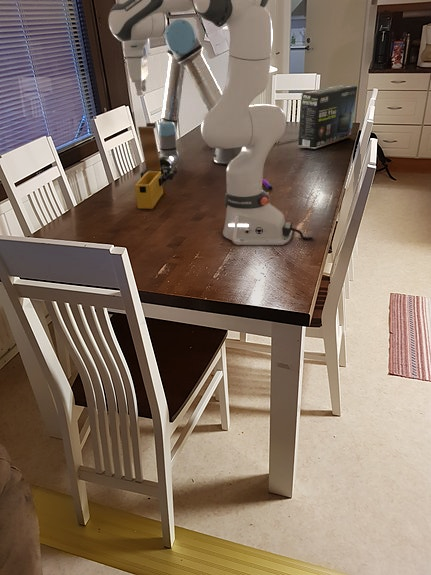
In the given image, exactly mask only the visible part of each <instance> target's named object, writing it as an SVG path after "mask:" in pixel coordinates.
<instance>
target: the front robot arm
mask: <svg viewBox="0 0 431 575" xmlns="http://www.w3.org/2000/svg"><path fill="white" fill-rule="evenodd" d="M268 3H269V0H119V2H118V3H115V4H114V5H112V7H111V8H110V10H109V14H108V17H107V24H108V28H109V30H110V32H111V34H112V35H113V36H114V37H115V38H116V39H117V40H118V41H119V42H122V46H123V47H122V48H123V56H124V58H126V59H125V61H126V66H127V71H128V76H129V80H130V82H131V83H133V84H134V88H135V90H136V95H137V96H138V97H139V96H143V92H146V91H147V77H148V76H149V65H148V56H149V55H151V45H150V39H157V38H160V37H162V36H163V35H164V33H166V29H167V16H166V13H180V12H181V13H182V12H188V11H192V10H195V12H196V14H197V15H198V16H199V17H200V18H202V19H204V20H206V21H207V22H210V23H212V24H213V25H214V26H215V27H217V28H221V27H223V26H224V25H225V26H226V27H227V28H228V31H229V46H228V64H227V73H226V82H225V85H224V88H223V91H222V96H221V98H220V99H219V101H218V102H217V104H216V105H215V106H214V108H213V109H212V110H211V111H209V112H208V111H207V113H206V114H205V115H204V117H203V119H202V121H201V124H200V134H201V138H202V139H203V142H204V143H205V144H206V145H207V146H208V147H209V148H210V149H216V148H218V149H229V148H237V147H242V150H241V152H240V153H239V155H238V156H237V157H236V158H234V159H233V160H232V161H230V163H229V164H228V165H226V169H225V177H226V178H225V179H226V180H225V183H226V190H225V194H224V205H225V209H226V210H225V218H224V219H225V220H224V226H223V229H222V235H223V237H225V239H228V240H230V241H232V243H233V244H234V245H236V246H283V245H286V244H288V243H289V242H290V240H291V239H292V237H293V232H296V233H298V234H299V236H300V238H301V239H302V240H305V241H309V240H311V241H312V240H314V237H313V236H304V234H303V232H302V231H301V230H299V229H297V228H294V227H293V222H290V221H286V219H285V215H284V213H283V212H282V211H280V210H279V209H278V208H277V207H276V206H275V205H272V204H271V203H270V202H269V194H270V192H269V191H267V192H266V191H265V190H263V183H262V179H263V178H264V169H265V168H264V167H265V163H266V160H267V157H268V155H269V153H270V151H271V149H272V148H273V147H274V146H275V145H276V144H275V143H276V142H279V140H280V139H281V138H282V137H283V136H284V134H285V131H286V129H287V117H286V115H285V112H284V111H283V109H282V108H281V107H280V106H279V105H274V104H265V103H262V104H254V105H253V104H252V102H253V101H254V100H255V99H256V98H257V97H259V95H261V94H262V93H264V91H265V90H266V89H267V87H268V84H269V80H270V79H269V78H270V68H271V59H272V50H273V49H272V48H273V24H272V16H271V13H270V12H269V10H268V9H266V6H267V5H268Z"/></svg>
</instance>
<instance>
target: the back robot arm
mask: <svg viewBox="0 0 431 575" xmlns="http://www.w3.org/2000/svg"><path fill="white" fill-rule="evenodd" d="M164 33H165V34H164V38H165V43H166V46H167V50H166V51H167V53H166V54H167V56H168V64H167V70H166V81H165V87H164V95H163V104H162V113H161V120H160V122H159V123H158V124H157V133H158V134H157V135H158V142H159V155H160V156H159V160H160V166H161V176H160V178H159V186H161V185H162V186H163V184H164V183H165V182H167V181H168V180H170V181H171V180H173V179H174V177H175V175H176V174H178V167H177V166H176V165H177V164H178V163H179V160H180V153H179V151H178V149H177V148H178V146H177V131H178V124H179V123H178V122H179V115H180V108H181V102H182V94H183V87H184V80H185V75H186V74H185V73H186V72H187V74H188V76H189V78H190V80H191V82H192V84H193V86H194V88H195V90H196V91H197V93H198V95H199V97H200V98H201V101H202V102H203V105H204V106H205V108H206V109H207V113H208V112H209V111H211V110H212V109H213V108H214V106H215V105H216V104H217V102H218V101H219V99H220V98H221V96H222V94H223V91H222V90H221V88H220V86H219V85H218V83H217V81H216V79H215V77H214V75H213V73H212V71H211V70H210V69H211V68H210V67H209V65H208V64H207V61H206V58H205V57H204V55H203V49H204V47H203V44H202V43H201V41H200V39H199V37H198V35H197V32H196V30H195V28H194V26H193V24H191V23H190V22H189V21H187V20H186V19H181V18H179V19H175V20H173V21H171V23H169V24H168V25H167V26H166V29H165V32H164ZM241 150H242V147H237V148H229V149H218V148H215V150H214V153H213V154H212V158H213V163H214V164H216V165H219V166H228V164H229V163H230V161H232V160H233V159H234V158H236V157H237V156H238V155H239V153H240V152H241ZM146 172H147V169H146V166H145V168H144V169H143V170H142V171H141V172H140V174H139V175H140V179H141V178H142V177H143V176H144V174H145V173H146Z"/></svg>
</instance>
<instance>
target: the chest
mask: <svg viewBox="0 0 431 575" xmlns="http://www.w3.org/2000/svg"><path fill="white" fill-rule="evenodd" d="M160 176H161V171H147V172H146V173H145V174H144V176H143V177H142V178H141V177H140V179H139V180H137V182H136V183H135V185H134V189H135V198H136V204H137V209H154V208H155V207H156V205H157V203H158V201H159V200H160V199H161V197H162V196H163V194H164V188H163V184H162V185H161V186H159V178H160Z"/></svg>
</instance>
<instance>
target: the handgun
mask: <svg viewBox="0 0 431 575" xmlns="http://www.w3.org/2000/svg"><path fill="white" fill-rule="evenodd" d="M262 185H264V186H265V188H266V189H267V190H268V192H269V191H270V192H271V191H272V190H273V188H274V187H273V186H272V185H271V184H270V182H268V180H267V179H265V178H264V177H263V179H262Z"/></svg>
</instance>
